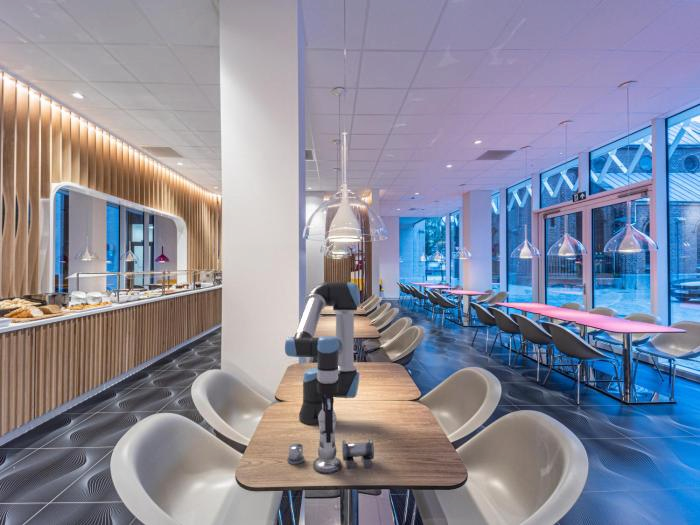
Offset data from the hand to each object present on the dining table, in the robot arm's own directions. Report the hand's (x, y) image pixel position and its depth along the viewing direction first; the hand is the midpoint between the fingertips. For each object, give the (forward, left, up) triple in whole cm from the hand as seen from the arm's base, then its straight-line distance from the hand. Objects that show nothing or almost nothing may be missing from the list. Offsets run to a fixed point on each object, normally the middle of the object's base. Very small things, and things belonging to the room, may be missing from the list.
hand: (327, 446), depth 129 cm
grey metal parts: (+4, +4, -7) cm, 9 cm away
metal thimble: (-12, -3, -7) cm, 14 cm away
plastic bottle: (0, 0, -5) cm, 5 cm away
